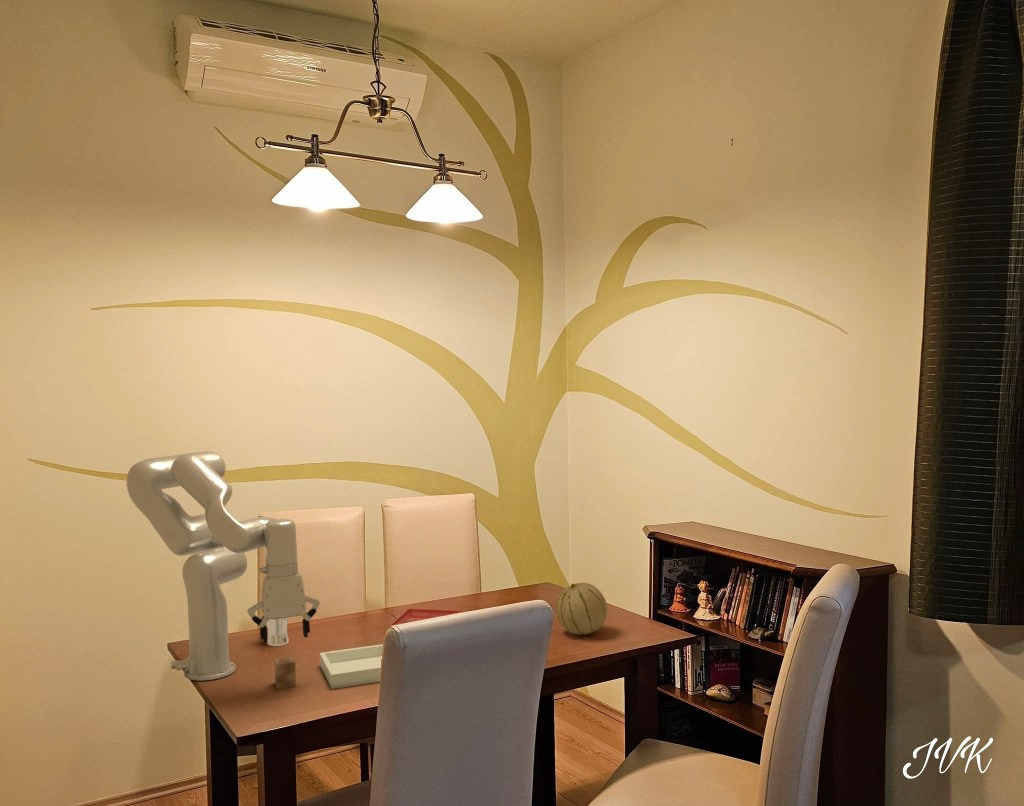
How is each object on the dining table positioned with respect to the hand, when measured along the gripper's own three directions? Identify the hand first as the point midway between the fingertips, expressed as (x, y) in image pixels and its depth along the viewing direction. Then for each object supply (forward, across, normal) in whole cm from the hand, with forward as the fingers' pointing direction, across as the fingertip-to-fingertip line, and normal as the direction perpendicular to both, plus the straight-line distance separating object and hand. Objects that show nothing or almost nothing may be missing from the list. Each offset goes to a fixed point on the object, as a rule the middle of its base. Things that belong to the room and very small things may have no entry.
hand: (285, 638), depth 217 cm
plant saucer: (+12, +44, +32) cm, 56 cm away
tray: (+12, +18, +2) cm, 22 cm away
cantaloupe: (+13, +84, +6) cm, 85 cm away
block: (+12, 0, 0) cm, 12 cm away
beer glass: (+11, +2, +36) cm, 37 cm away
